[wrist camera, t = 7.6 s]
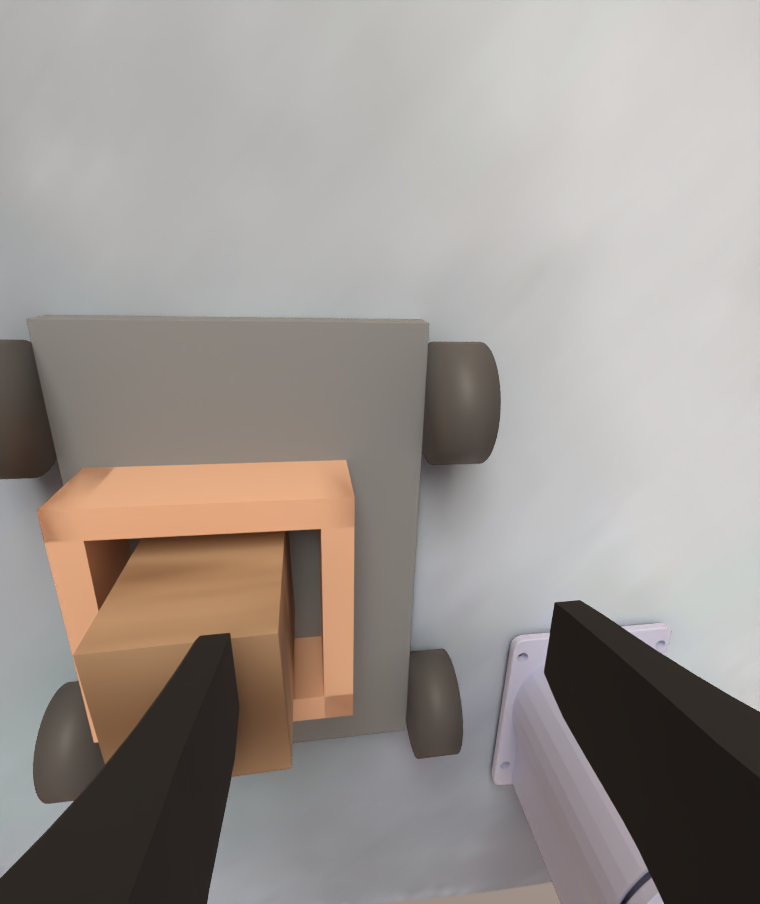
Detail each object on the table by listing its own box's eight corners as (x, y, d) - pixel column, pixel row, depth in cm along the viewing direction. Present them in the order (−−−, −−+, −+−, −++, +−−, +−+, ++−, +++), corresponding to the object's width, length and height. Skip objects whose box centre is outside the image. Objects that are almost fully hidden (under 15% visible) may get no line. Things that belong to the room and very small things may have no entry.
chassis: (432, 704, 24) (458, 790, 20) (94, 740, 21) (48, 845, 18) (465, 319, 17) (512, 335, 13) (-11, 314, 15) (-119, 331, 11)
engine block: (295, 610, 19) (291, 797, 12) (174, 622, 19) (101, 826, 12) (286, 507, 18) (276, 658, 11) (153, 517, 17) (56, 684, 10)
